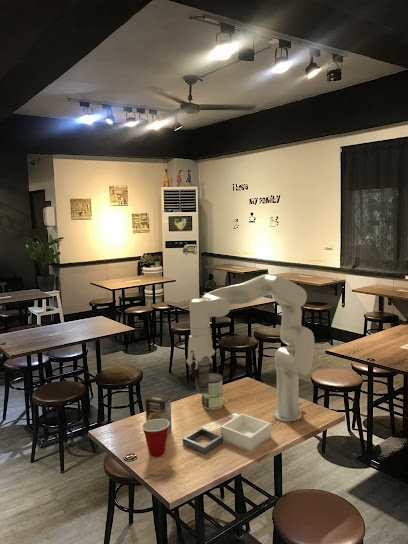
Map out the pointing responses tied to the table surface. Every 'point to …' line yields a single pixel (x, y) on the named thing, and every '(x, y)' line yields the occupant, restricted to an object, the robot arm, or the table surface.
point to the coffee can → (213, 393)
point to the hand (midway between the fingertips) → (201, 374)
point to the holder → (190, 443)
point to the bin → (246, 432)
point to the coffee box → (159, 409)
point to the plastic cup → (156, 436)
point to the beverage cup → (203, 375)
